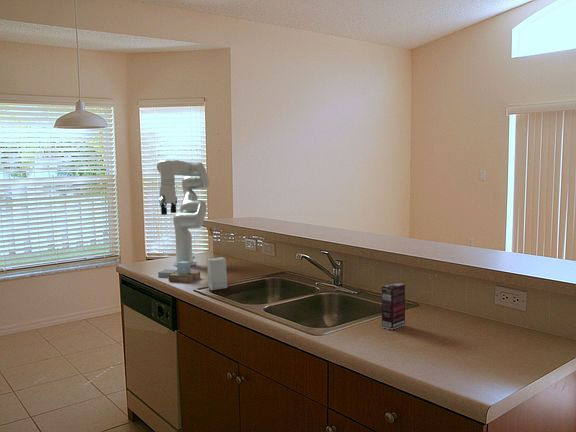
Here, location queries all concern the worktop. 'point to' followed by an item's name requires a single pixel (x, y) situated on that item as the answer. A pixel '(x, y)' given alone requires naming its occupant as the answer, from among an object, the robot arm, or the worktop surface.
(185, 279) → the walnut slab
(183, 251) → the robot arm
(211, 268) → the skincare box
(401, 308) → the supplement box
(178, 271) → the blue block
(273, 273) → the worktop surface
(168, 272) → the slate coaster
